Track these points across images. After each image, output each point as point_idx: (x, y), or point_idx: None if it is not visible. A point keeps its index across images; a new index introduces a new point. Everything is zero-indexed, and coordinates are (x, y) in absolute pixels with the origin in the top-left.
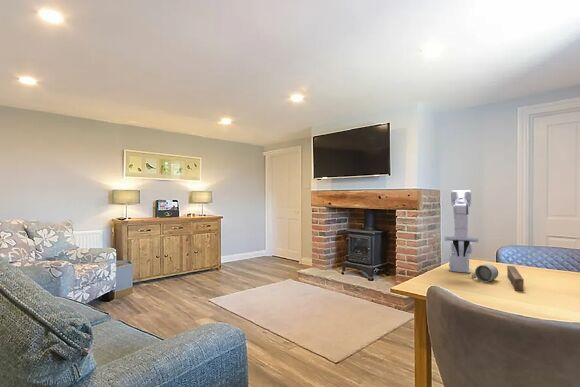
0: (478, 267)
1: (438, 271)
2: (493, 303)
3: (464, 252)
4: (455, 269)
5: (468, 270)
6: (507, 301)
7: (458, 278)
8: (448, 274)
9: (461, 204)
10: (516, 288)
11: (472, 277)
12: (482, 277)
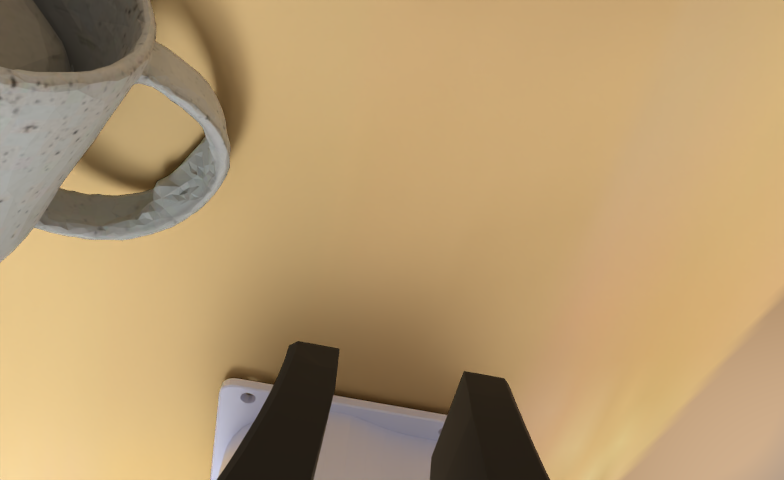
0: (25, 107)
1: (658, 389)
2: None
3: (283, 448)
4: (408, 444)
5: (235, 437)
6: None
7: (472, 39)
8: (565, 262)
9: None
10: None
11: (221, 110)
12: (43, 15)
